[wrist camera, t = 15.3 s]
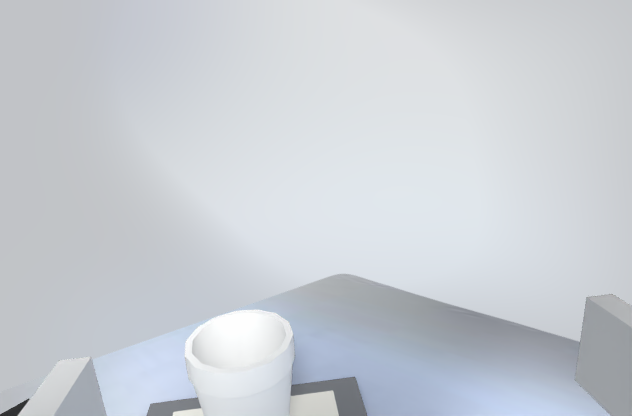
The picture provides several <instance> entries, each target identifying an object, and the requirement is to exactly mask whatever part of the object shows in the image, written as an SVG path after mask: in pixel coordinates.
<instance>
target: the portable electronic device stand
mask: <svg viewBox="0 0 632 416" xmlns="http://www.w3.org/2000/svg"><path fill="white" fill-rule="evenodd" d="M29 400H30V399H27V400H26V401H24V402H22V403H20V404H18V405H17V406H15V407H13V408H11V409H9V410H8V411H6V412H4V413H2V414H0V416H18V414H19V413H20V412H21V410H22V409H23V408H24V406H25V405H26V404H27V402H28V401H29Z"/></svg>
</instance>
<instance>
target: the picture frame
mask: <svg viewBox="0 0 632 416" xmlns="http://www.w3.org/2000/svg"><path fill="white" fill-rule="evenodd" d="M147 416H204V414H203V411H202V408H201V406H200V403H199V400H198V398H191V399H183V400H176V401H168V402H161V403H153V404H150V407H149V410H148V413H147ZM289 416H367V413H366V410H365V407H364V404H363V401H362V397H361V394H360V391H359V388H358V384H357V381H356V378H355V377H350V378H343V379H335V380H328V381H320V382H313V383H305V384H297V385H291V397H290V413H289Z"/></svg>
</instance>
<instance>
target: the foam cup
mask: <svg viewBox="0 0 632 416" xmlns="http://www.w3.org/2000/svg"><path fill="white" fill-rule="evenodd" d="M294 359H295V349H294V337H293V332H292V329H291V327H290V324H289V322H288V321H287V320H285V319H284V318H282V317H281V316H279V315H278V314H276V313H272V312H267V311H262V310H243V311H234V312H231V313H227V314H224V315H221V316H217V317H214V318H213V319H211V320H209V321H207V322H206V323H204V324H202V325H201V326H199V327H197V328H196V329H195V331H194V332H193V333H192V334H191V335H190V337H189V338H188V339H187V340H186V344H185V361H186V367H187V372H188V378H189V380H190V381H191V382H192V384H193V385H194V388H195V391H196V394H197V397H198V400H199V403H200V406H201V408H202V411H203V414H204V416H289V413H290V397H291V381H292V365H293V361H294Z"/></svg>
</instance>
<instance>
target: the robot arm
mask: <svg viewBox="0 0 632 416" xmlns="http://www.w3.org/2000/svg"><path fill="white" fill-rule="evenodd" d="M575 381H576V382H577V383H578V384H579V385H580V386H581V387H582V388H583V389H584V390H585V391H586V392H587V393H588V394H589V395H590V396H591V397H592V398H593V399H594V400H595V401H596V402H597V403H598V404H599V405H601V406H602V407H603V408H604V409H605V410H606V411H607V412H608V413H609V414H610V415H611V416H632V306H631V305H629V304H627V303H626V302H624V301H623V300H621V299H620V298H618V297H616V296H615V295H613V294H609V295H601V296H593V297H587V298H586V305H585V312H584V319H583V326H582V333H581V340H580V347H579V353H578V360H577V367H576V374H575ZM18 416H107V415H106V411H105V407H104V404H103V400H102V396H101V392H100V388H99V384H98V381H97V377H96V373H95V369H94V365H93V362H92V358H91V357H85V358H77V359H68V360H60V361H58V362H57V364H56V365H55V367H54V368H53V369H52V371H51V372H50V373H49V374H48V376H47V377H46V378H45V380H44V381H43V382H42V384H41V385H40V386H39V388H38V389H37V390H36V392H35V393H34V394H33V396H32V397H31V398H30V400H29V401H28V402H27V404H26V405H25V406H24V408H23V409H22V410H21V412H20V413H19V414H18Z"/></svg>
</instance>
